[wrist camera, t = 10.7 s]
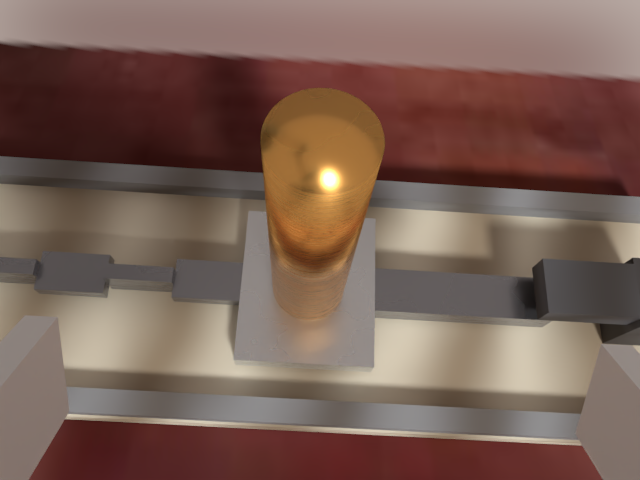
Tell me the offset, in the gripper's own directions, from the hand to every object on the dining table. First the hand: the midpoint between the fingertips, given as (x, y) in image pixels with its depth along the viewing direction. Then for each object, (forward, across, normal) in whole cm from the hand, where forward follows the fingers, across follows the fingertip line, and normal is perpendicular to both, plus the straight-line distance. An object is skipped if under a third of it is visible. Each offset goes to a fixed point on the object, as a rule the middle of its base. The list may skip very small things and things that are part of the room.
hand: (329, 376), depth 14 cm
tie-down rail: (+14, -7, -5) cm, 16 cm away
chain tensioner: (+12, -5, -4) cm, 14 cm away
